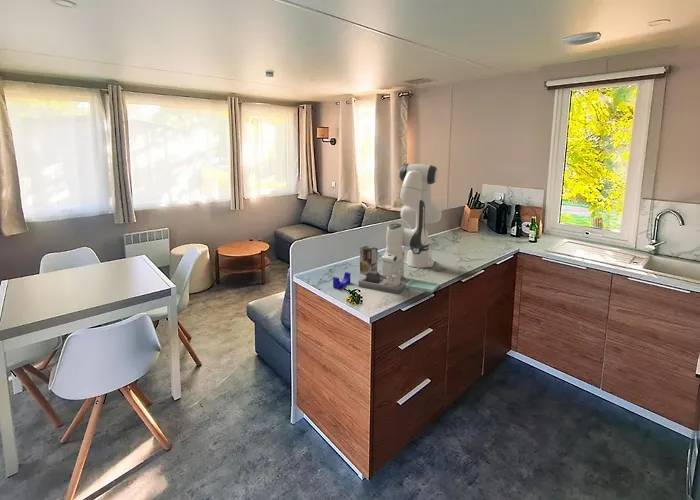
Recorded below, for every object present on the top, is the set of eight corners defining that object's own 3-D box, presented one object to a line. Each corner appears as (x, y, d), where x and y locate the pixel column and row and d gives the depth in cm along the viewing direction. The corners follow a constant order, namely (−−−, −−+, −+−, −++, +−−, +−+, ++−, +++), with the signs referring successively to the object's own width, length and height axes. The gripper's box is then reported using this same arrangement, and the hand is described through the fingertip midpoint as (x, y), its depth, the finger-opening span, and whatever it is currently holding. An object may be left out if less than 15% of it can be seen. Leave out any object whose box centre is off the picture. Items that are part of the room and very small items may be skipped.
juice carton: (397, 280, 222) (398, 248, 218) (386, 277, 228) (386, 246, 223) (405, 277, 228) (406, 246, 223) (393, 274, 233) (394, 243, 229)
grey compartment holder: (366, 281, 221) (366, 268, 219) (405, 288, 210) (406, 274, 208) (358, 286, 213) (358, 272, 211) (398, 293, 202) (399, 279, 200)
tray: (412, 281, 221) (412, 279, 220) (438, 286, 213) (439, 283, 213) (404, 287, 211) (404, 285, 211) (432, 292, 204) (432, 290, 203)
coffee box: (377, 273, 235) (378, 247, 231) (371, 276, 230) (371, 249, 226) (365, 270, 241) (366, 245, 237) (359, 273, 236) (359, 247, 232)
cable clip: (339, 289, 209) (339, 279, 207) (333, 287, 211) (333, 277, 210) (352, 283, 218) (352, 273, 217) (346, 282, 221) (346, 272, 219)
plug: (389, 283, 211) (389, 273, 210) (399, 285, 208) (400, 275, 207) (386, 286, 208) (386, 276, 206) (396, 288, 205) (396, 277, 203)
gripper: (396, 249, 214) (395, 273, 217) (380, 258, 197) (379, 283, 200) (406, 250, 211) (405, 274, 214) (391, 260, 194) (390, 286, 197)
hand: (393, 279), depth 207 cm, fingers open, 5 cm apart
